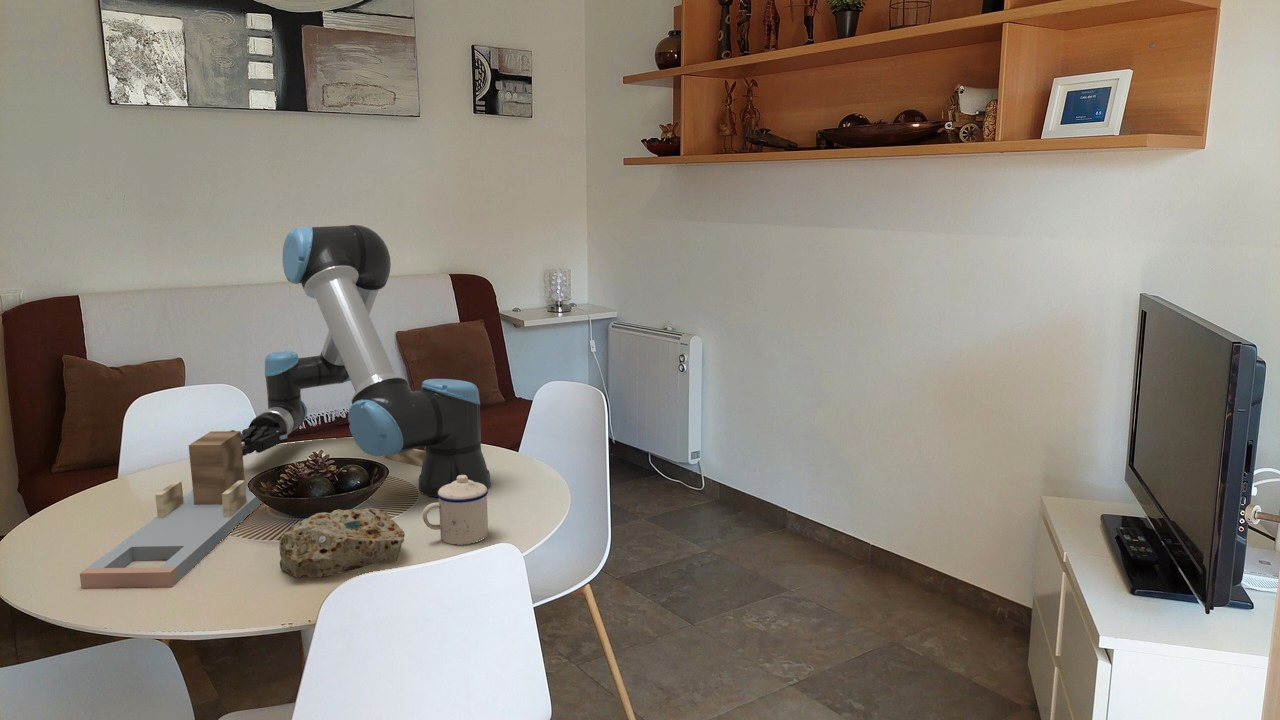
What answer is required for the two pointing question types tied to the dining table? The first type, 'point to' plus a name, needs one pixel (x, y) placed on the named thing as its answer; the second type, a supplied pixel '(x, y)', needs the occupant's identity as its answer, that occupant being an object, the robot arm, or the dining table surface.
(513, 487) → the dining table surface
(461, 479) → the teacup with lid
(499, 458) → the dining table surface
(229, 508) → the beech tunnel walls
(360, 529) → the rock
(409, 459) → the oak coaster frame
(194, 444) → the walnut block
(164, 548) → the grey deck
